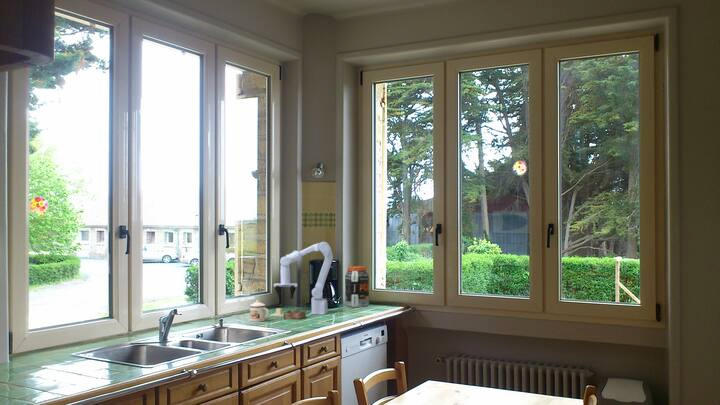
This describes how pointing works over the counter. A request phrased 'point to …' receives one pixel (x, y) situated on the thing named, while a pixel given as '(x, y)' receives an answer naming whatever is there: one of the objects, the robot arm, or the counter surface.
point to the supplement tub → (357, 287)
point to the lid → (278, 313)
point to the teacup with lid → (258, 312)
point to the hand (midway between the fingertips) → (285, 298)
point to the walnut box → (295, 314)
